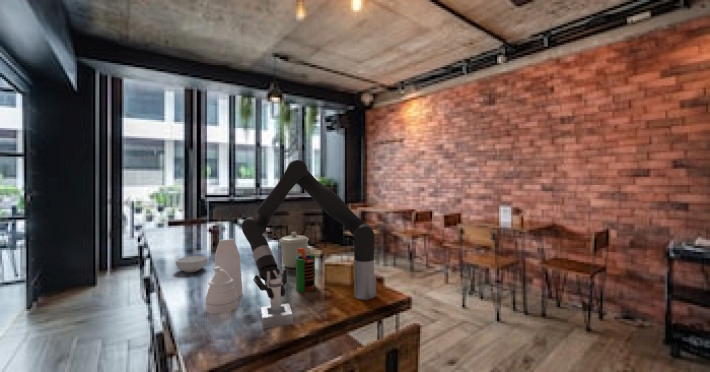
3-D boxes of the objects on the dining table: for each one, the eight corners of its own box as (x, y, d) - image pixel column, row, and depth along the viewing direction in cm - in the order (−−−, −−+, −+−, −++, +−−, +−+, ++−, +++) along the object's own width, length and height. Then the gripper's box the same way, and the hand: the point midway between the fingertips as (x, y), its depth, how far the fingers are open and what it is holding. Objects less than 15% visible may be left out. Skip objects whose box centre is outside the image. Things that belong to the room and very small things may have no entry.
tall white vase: (215, 299, 159) (213, 242, 157) (214, 291, 169) (213, 238, 168) (242, 295, 163) (241, 240, 162) (240, 287, 174) (239, 236, 173)
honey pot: (218, 316, 140) (217, 272, 139) (199, 309, 146) (197, 267, 146) (244, 305, 150) (243, 264, 150) (224, 300, 157) (223, 260, 157)
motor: (310, 292, 166) (309, 251, 165) (292, 291, 168) (292, 250, 167) (317, 285, 176) (316, 246, 175) (300, 284, 177) (299, 246, 177)
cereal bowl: (213, 269, 208) (213, 257, 208) (187, 276, 194) (186, 263, 194) (196, 265, 218) (196, 254, 217) (170, 272, 203) (170, 260, 203)
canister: (306, 269, 205) (306, 234, 204) (276, 270, 205) (275, 234, 204) (311, 261, 223) (310, 229, 222) (283, 262, 223) (282, 229, 222)
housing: (289, 313, 142) (288, 303, 142) (292, 324, 131) (292, 313, 131) (261, 316, 139) (261, 307, 138) (262, 328, 128) (262, 317, 128)
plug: (280, 305, 137) (280, 278, 137) (281, 309, 133) (281, 281, 133) (269, 306, 136) (269, 279, 136) (270, 310, 132) (270, 282, 132)
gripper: (250, 256, 135) (263, 296, 126) (283, 251, 144) (297, 288, 135) (245, 267, 140) (257, 306, 131) (277, 261, 149) (291, 297, 140)
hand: (277, 296), depth 133 cm, fingers closed on plug, 4 cm apart
